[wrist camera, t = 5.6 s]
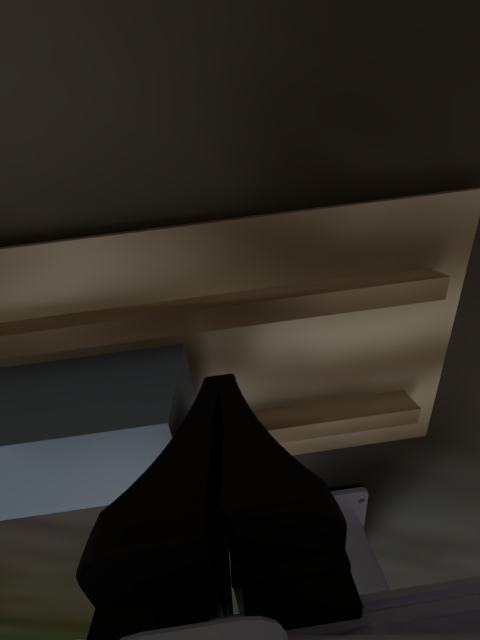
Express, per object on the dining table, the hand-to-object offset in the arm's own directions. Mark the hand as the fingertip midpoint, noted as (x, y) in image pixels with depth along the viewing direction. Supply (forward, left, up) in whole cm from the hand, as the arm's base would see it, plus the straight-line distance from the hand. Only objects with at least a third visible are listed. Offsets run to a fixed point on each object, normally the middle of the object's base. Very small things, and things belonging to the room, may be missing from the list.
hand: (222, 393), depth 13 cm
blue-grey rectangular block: (0, +7, -2) cm, 7 cm away
